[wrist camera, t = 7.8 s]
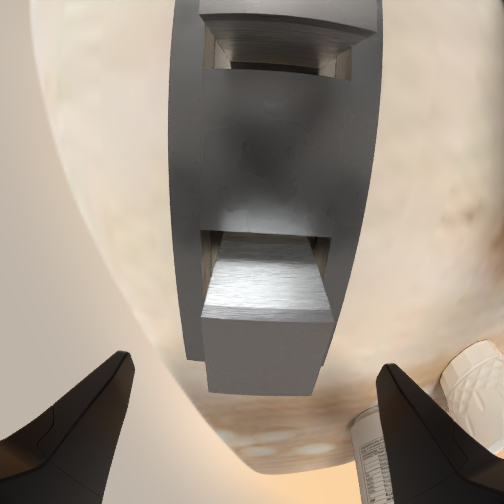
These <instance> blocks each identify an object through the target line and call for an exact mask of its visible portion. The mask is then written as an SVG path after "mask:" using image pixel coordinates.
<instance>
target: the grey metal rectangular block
mask: <svg viewBox="0 0 504 504" xmlns="http://www.w3.org/2000/svg"><path fill="white" fill-rule="evenodd" d="M199 16H200V17H201V18H202V20H203V21H204V23H205V24H206V26H207V27H208V29H209V30H210V32H211V33H212V35H213V36H214V37H215V39H216V40H217V42H218V44H219V45H220V47H221V48H222V50H223V51H224V53H225V54H226V56H227V57H228V59H229V61H230V62H257V63H273V64H285V65H295V66H304V67H312V68H319V69H320V68H321V67H322V66H324V65H325V64H327V63H328V62H330V61H331V60H333V59H334V58H336V57H337V56H339V55H341V54H342V53H344V52H345V51H347V50H348V49H350V48H352V47H353V46H355V45H356V44H358V43H360V42H361V41H363V40H365V39H366V38H368V37H370V36H371V35H373V34H375V33H376V32H377V0H200V5H199Z"/></svg>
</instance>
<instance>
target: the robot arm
mask: <svg viewBox="0 0 504 504" xmlns="http://www.w3.org/2000/svg"><path fill="white" fill-rule="evenodd" d="M134 373H135V367H134V364H133V361H132V358H131V355H130V353H128V352H126V351H117V352H116V353H115V354H113V355H112V356H111V357H110V358H108V359H107V360H106V361H105V362H104V363H102V364H101V365H100V366H99V367H98V368H96V369H95V370H94V371H93V372H92V373H90V374H89V375H88V376H87V377H85V378H84V379H83V380H82V381H81V382H80V383H78V384H77V385H76V386H75V387H74V388H72V389H71V390H70V391H69V392H67V393H66V394H65V395H64V396H63V397H61V398H60V399H59V400H58V401H57V402H55V404H54V405H53V406H51V407H50V408H48V409H47V410H46V411H45V412H43V413H42V414H41V415H40V416H38V417H37V418H36V419H34V420H33V421H31V422H30V423H29V424H27V425H26V426H24V427H23V428H21V429H19V430H18V431H16V432H15V433H13V434H12V435H10V436H9V437H7V438H5V439H3V440H1V441H0V504H102V500H103V495H104V491H105V487H106V483H107V478H108V475H109V471H110V467H111V463H112V459H113V456H114V452H115V449H116V445H117V442H118V438H119V435H120V431H121V428H122V425H123V421H124V418H125V415H126V412H127V408H128V403H129V398H130V393H131V388H132V383H133V378H134ZM376 388H377V397H378V407H379V416H380V423H381V428H382V433H383V438H384V443H385V448H386V454H387V460H388V466H389V472H390V479H391V486H392V493H393V501H394V504H504V459H502V458H499V457H497V456H495V455H494V454H493V453H491V452H490V451H489V450H488V449H486V448H485V447H484V446H482V445H481V444H480V443H479V442H477V441H476V440H475V439H474V438H473V437H471V436H470V435H469V434H468V433H467V432H466V431H465V430H464V429H463V428H461V427H460V426H459V425H458V424H457V423H456V422H455V421H454V420H453V419H452V418H451V417H450V416H449V415H448V414H447V413H446V412H445V411H444V410H443V409H442V408H441V407H440V406H439V405H438V404H437V403H436V402H435V401H434V400H433V399H432V398H431V397H430V396H429V395H428V394H426V393H425V392H424V391H423V390H422V389H421V388H420V387H419V386H418V385H417V384H416V383H415V382H414V381H413V380H412V379H411V378H410V377H409V376H408V375H407V374H406V373H405V372H404V371H403V370H402V369H400V368H399V367H398V366H397V365H396V364H394V363H390V364H385V365H383V367H382V369H381V371H380V373H379V374H378V376H377V379H376Z"/></svg>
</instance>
